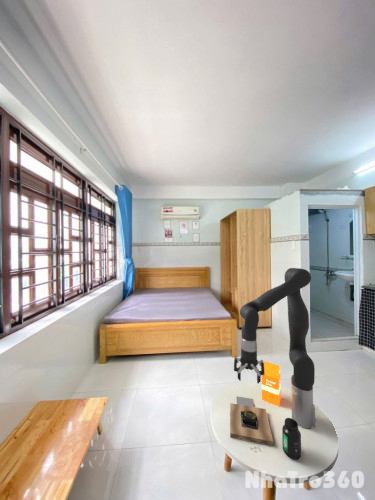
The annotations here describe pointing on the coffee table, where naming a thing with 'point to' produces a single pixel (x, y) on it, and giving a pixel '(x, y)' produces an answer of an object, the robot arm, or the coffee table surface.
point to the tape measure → (249, 418)
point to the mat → (245, 401)
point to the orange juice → (271, 384)
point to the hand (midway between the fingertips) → (248, 381)
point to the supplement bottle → (291, 439)
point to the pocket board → (248, 434)
